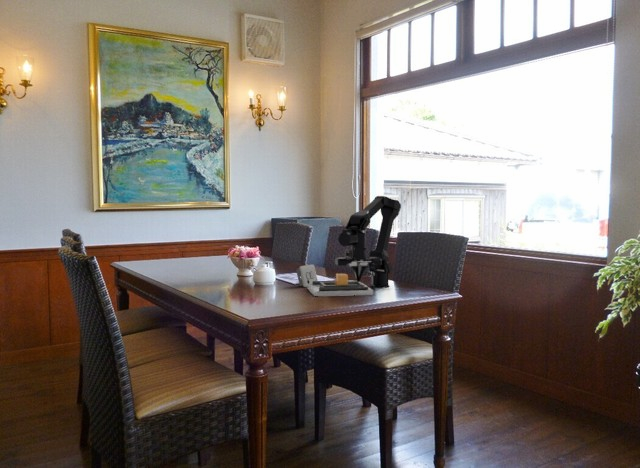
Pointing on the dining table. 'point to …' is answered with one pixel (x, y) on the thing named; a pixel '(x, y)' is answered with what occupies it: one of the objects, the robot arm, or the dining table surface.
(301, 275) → the electrical switch
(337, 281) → the orange cube block
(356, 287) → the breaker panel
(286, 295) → the dining table surface
